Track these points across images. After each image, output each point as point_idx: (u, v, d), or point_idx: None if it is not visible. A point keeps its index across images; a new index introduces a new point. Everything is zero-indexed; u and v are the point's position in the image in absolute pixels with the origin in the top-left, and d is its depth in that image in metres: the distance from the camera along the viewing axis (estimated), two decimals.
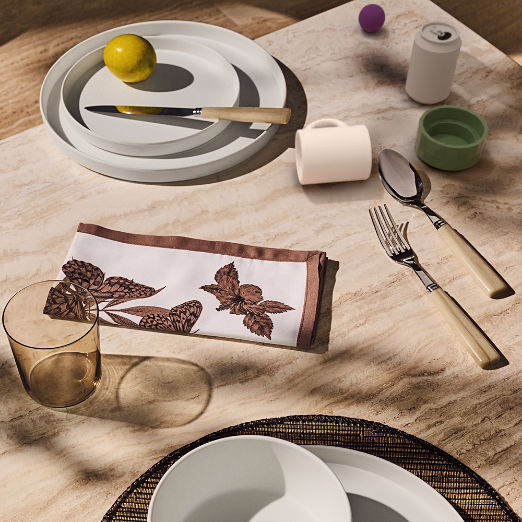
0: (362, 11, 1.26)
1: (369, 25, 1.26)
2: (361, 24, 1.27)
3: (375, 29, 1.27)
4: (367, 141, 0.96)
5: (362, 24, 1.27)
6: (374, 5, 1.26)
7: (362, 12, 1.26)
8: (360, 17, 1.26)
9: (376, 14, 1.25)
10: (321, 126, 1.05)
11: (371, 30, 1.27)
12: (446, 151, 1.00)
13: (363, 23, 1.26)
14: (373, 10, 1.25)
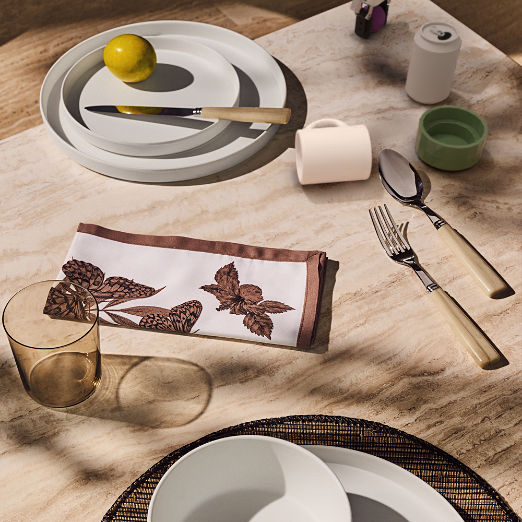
0: None
1: None
2: None
3: (375, 29, 1.27)
4: (367, 141, 0.96)
5: None
6: None
7: None
8: None
9: (376, 14, 1.25)
10: (321, 126, 1.05)
11: (371, 30, 1.27)
12: (446, 151, 1.00)
13: None
14: (373, 10, 1.25)
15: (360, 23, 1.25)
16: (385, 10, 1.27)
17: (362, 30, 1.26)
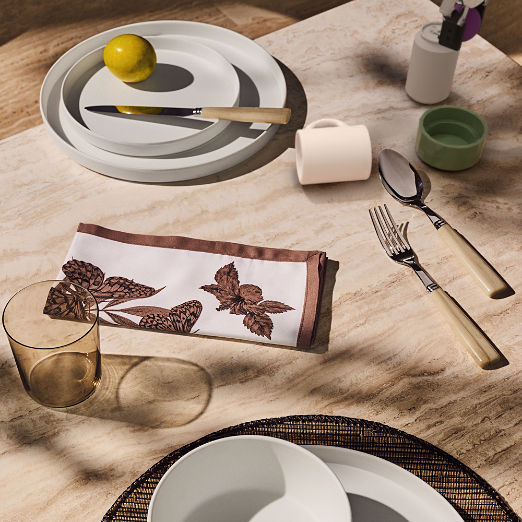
0: None
1: None
2: None
3: (467, 38, 0.94)
4: (367, 141, 0.96)
5: None
6: None
7: None
8: None
9: (470, 19, 0.92)
10: (321, 126, 1.05)
11: None
12: (446, 151, 1.00)
13: None
14: None
15: (448, 31, 0.92)
16: (480, 13, 0.94)
17: (450, 40, 0.93)
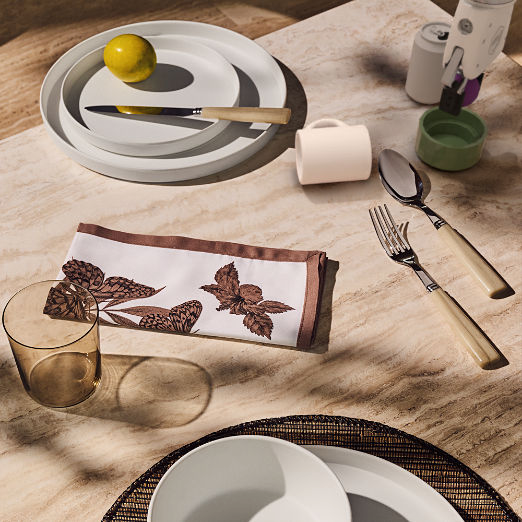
0: None
1: None
2: None
3: (466, 104, 0.97)
4: (367, 141, 0.96)
5: None
6: None
7: None
8: None
9: (469, 86, 0.95)
10: (321, 126, 1.05)
11: None
12: (446, 151, 1.00)
13: None
14: None
15: (448, 98, 0.95)
16: (479, 79, 0.98)
17: (450, 107, 0.96)
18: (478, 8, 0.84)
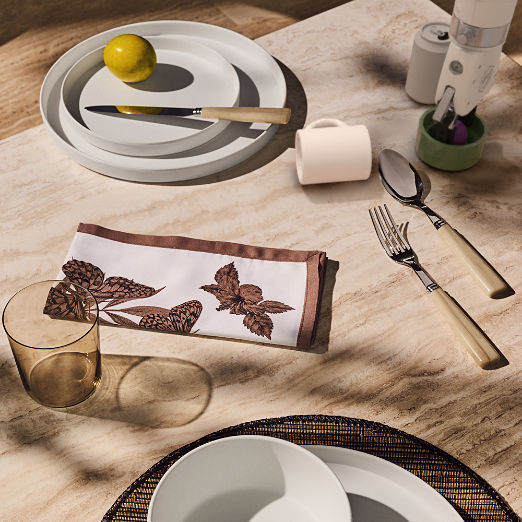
0: None
1: None
2: None
3: None
4: (367, 141, 0.96)
5: None
6: None
7: None
8: None
9: (458, 134, 1.02)
10: (321, 126, 1.05)
11: None
12: (446, 151, 1.00)
13: None
14: None
15: (440, 133, 1.00)
16: (472, 111, 1.02)
17: (442, 140, 1.00)
18: (468, 51, 0.89)
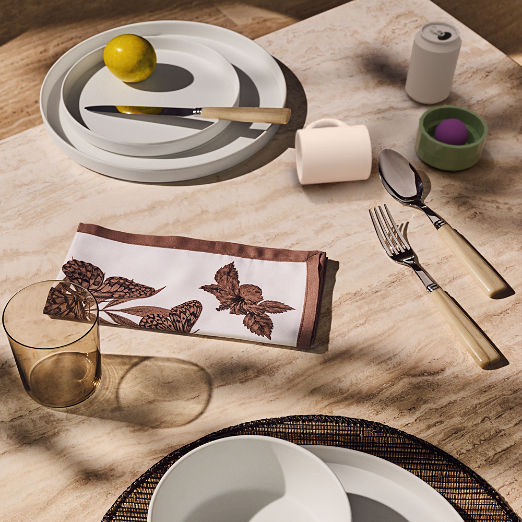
0: (441, 128, 1.03)
1: None
2: None
3: None
4: (367, 141, 0.96)
5: None
6: (456, 121, 1.02)
7: (441, 129, 1.03)
8: (438, 135, 1.03)
9: (459, 133, 1.02)
10: (321, 125, 1.05)
11: None
12: (446, 151, 1.00)
13: None
14: (455, 128, 1.02)
15: None
16: None
17: None
18: None
